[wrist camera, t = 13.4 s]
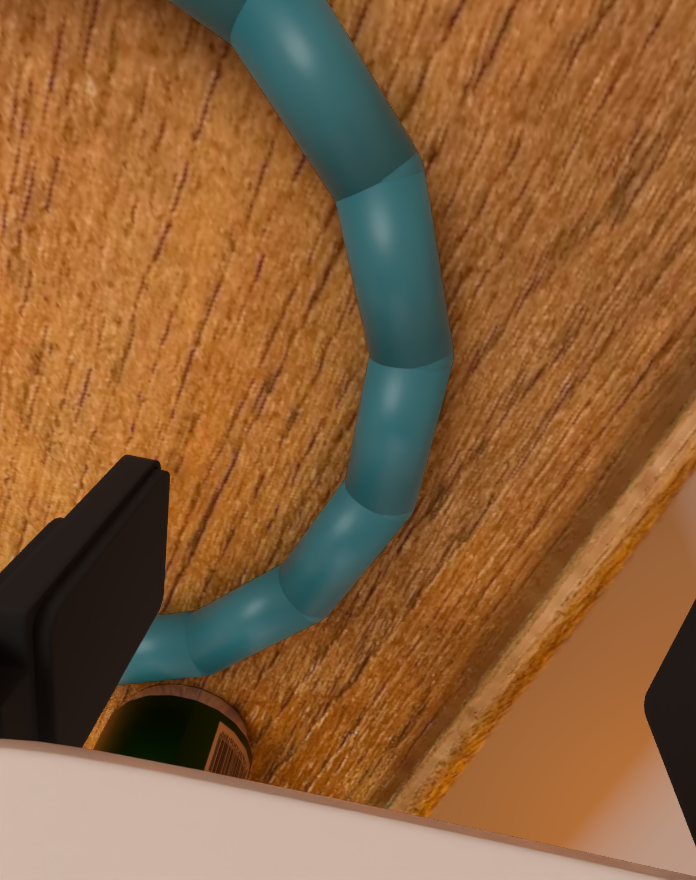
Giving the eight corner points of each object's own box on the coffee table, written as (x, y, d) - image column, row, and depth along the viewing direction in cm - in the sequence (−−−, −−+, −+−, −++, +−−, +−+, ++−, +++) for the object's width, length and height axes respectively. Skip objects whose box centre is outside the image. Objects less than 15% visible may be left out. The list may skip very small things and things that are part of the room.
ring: (562, -94, 12) (589, -131, 10) (359, 704, 22) (355, 755, 20) (-563, -309, 12) (-728, -383, 10) (-265, 584, 22) (-325, 624, 20)
